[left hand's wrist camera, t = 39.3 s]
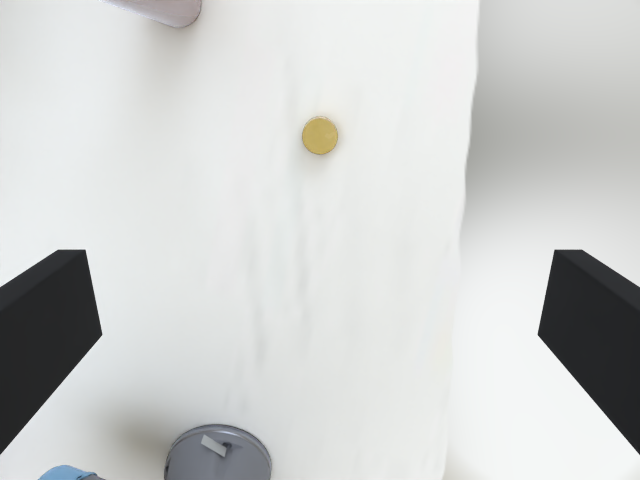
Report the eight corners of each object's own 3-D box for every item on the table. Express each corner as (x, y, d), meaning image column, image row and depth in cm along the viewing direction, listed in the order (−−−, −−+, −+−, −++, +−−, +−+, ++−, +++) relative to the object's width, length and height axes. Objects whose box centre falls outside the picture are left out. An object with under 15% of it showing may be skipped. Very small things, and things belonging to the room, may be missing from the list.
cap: (333, 153, 49) (334, 157, 47) (300, 147, 49) (299, 150, 47) (339, 119, 48) (340, 121, 45) (306, 113, 48) (305, 115, 45)
